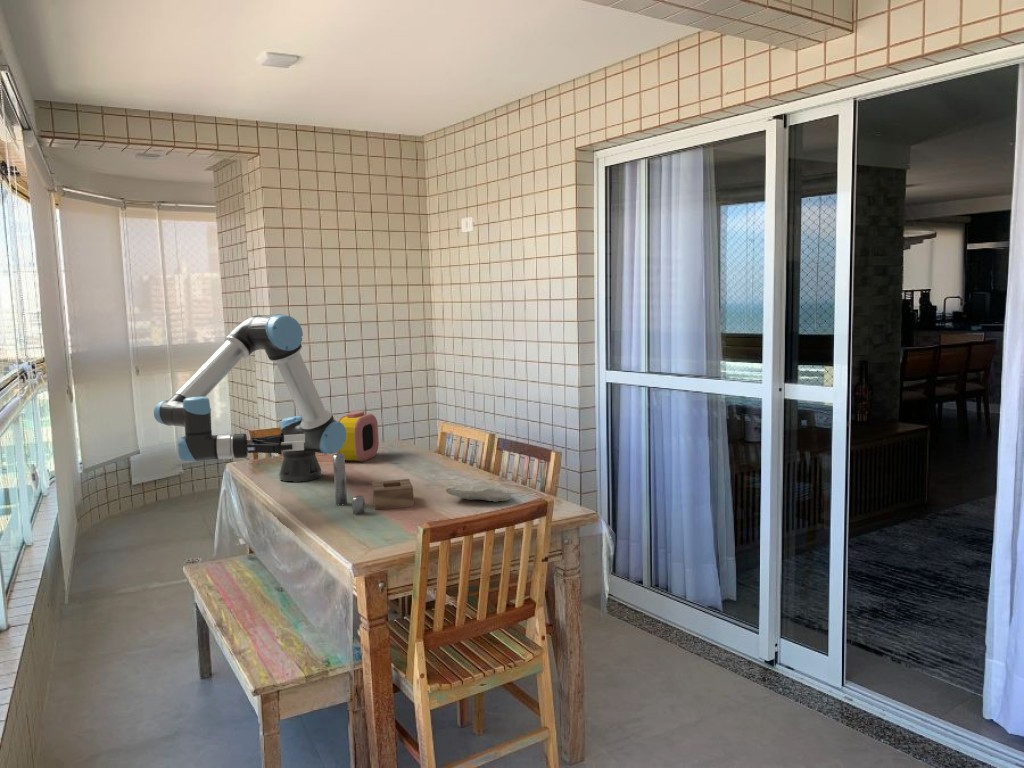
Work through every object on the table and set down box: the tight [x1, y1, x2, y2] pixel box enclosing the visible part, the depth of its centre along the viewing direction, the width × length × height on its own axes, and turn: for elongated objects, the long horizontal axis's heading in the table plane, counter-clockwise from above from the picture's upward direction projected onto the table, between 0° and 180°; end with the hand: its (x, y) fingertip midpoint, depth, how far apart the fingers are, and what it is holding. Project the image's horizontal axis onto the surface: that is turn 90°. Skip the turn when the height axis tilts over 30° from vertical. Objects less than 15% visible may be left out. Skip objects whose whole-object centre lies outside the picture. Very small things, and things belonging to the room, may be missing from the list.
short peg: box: [351, 495, 366, 516], centre depth 236 cm, size 4×4×5 cm
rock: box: [445, 480, 512, 503], centre depth 248 cm, size 24×6×20 cm
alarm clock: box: [336, 410, 380, 462], centre depth 314 cm, size 18×11×19 cm, turn 164°
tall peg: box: [332, 453, 348, 506], centre depth 247 cm, size 4×4×16 cm
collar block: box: [371, 478, 415, 511], centre depth 246 cm, size 12×12×6 cm
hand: (304, 441), depth 242 cm, fingers open, 13 cm apart
